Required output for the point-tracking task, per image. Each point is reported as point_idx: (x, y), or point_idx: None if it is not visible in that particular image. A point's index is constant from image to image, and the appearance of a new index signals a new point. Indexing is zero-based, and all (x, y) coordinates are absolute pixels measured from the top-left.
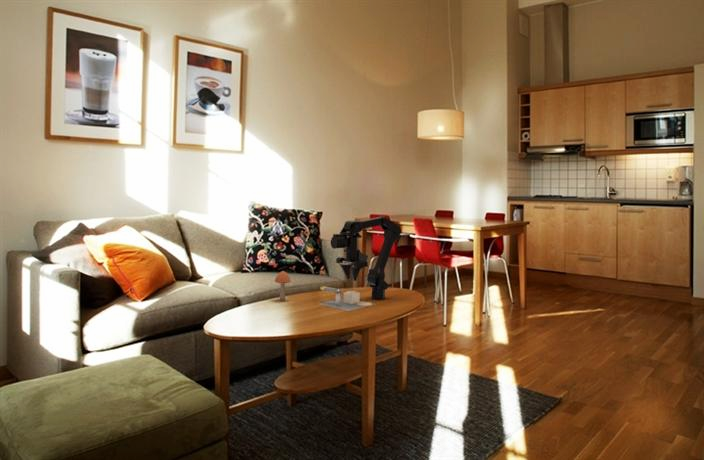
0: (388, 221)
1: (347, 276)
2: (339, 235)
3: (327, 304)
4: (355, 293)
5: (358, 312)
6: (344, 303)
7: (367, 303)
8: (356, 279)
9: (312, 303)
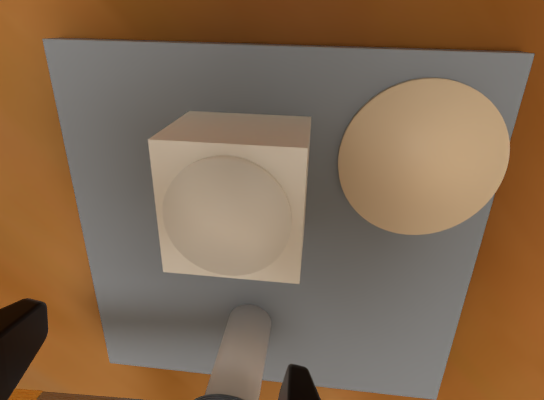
0: None
1: (8, 388)
2: None
3: (175, 346)
4: (298, 219)
5: (483, 323)
6: None
7: (448, 138)
8: (314, 387)
9: None
